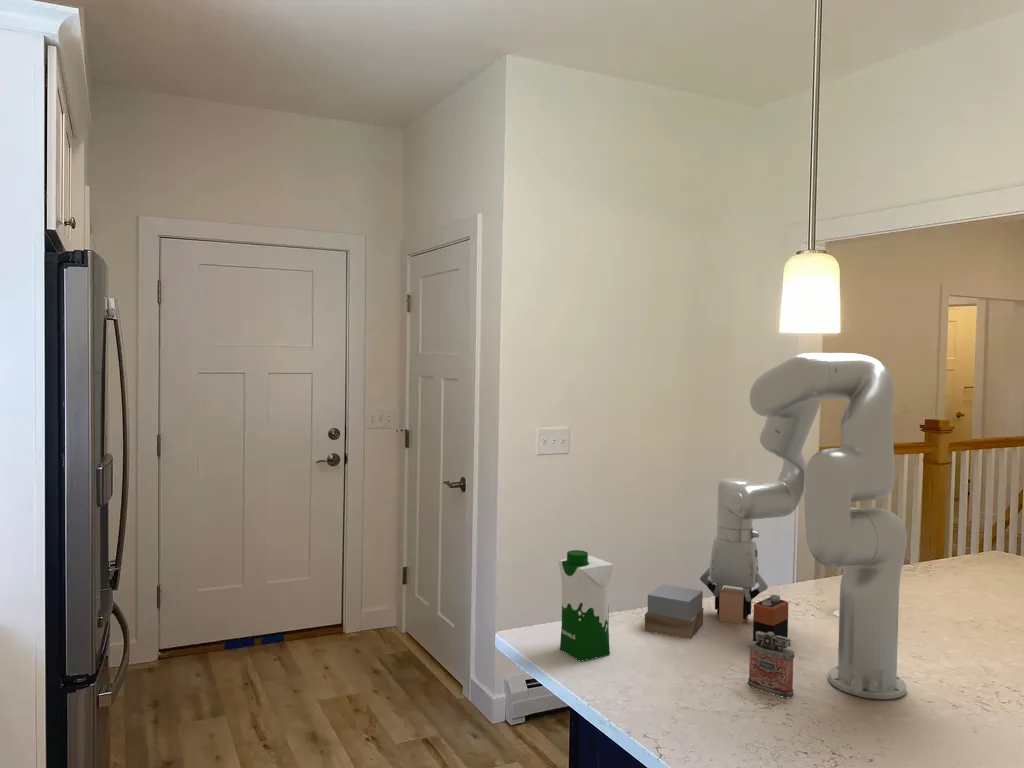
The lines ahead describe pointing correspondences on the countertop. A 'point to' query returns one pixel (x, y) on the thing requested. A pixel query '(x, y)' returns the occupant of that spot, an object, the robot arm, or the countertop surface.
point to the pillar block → (731, 605)
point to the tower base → (674, 625)
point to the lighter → (771, 664)
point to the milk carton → (585, 605)
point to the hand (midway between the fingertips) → (732, 614)
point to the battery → (771, 616)
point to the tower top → (675, 602)
